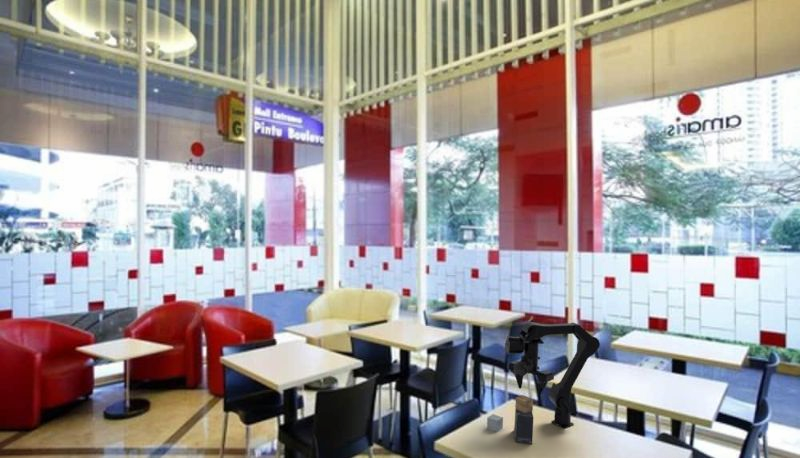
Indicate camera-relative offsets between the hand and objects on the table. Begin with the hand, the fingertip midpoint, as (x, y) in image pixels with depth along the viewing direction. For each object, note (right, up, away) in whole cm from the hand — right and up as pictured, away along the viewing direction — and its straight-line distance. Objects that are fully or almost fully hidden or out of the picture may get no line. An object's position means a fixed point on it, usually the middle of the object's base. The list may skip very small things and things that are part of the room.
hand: (529, 391), depth 182 cm
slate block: (-15, -13, -5) cm, 21 cm away
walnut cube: (-6, -3, -12) cm, 13 cm away
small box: (-6, -13, -12) cm, 19 cm away
